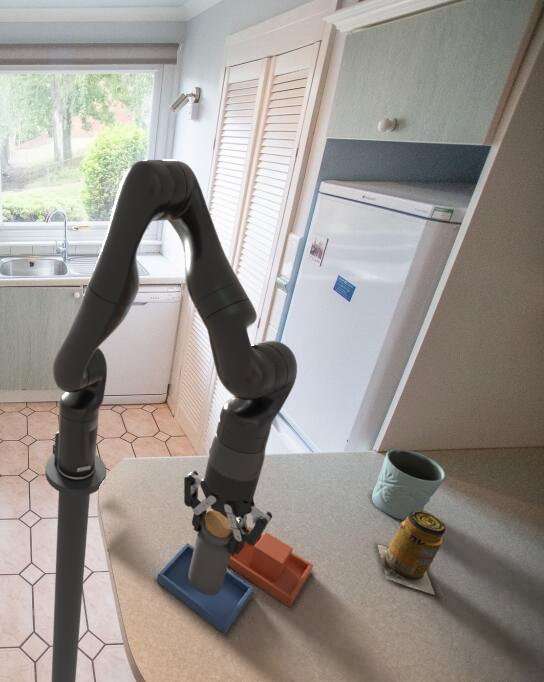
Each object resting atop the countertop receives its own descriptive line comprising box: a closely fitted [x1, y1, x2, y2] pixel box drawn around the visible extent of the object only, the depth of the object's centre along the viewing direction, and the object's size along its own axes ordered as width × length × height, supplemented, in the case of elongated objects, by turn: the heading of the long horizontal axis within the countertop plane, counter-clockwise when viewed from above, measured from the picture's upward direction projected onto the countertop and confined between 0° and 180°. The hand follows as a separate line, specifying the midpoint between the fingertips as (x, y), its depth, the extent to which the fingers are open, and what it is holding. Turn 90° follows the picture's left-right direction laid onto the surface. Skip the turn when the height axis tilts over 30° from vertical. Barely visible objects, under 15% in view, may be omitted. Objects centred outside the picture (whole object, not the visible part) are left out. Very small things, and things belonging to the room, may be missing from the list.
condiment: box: [377, 510, 447, 596], centre depth 84 cm, size 7×8×12 cm
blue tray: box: [156, 542, 255, 635], centre depth 82 cm, size 13×10×2 cm
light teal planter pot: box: [371, 448, 446, 521], centre depth 98 cm, size 10×10×12 cm
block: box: [249, 532, 294, 582], centre depth 85 cm, size 5×5×5 cm
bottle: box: [188, 509, 234, 595], centre depth 79 cm, size 6×6×15 cm
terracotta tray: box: [228, 526, 314, 608], centre depth 86 cm, size 12×10×2 cm
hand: (215, 539), depth 77 cm, fingers closed on bottle, 5 cm apart
